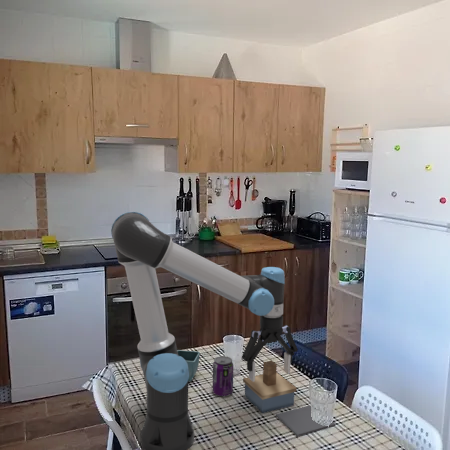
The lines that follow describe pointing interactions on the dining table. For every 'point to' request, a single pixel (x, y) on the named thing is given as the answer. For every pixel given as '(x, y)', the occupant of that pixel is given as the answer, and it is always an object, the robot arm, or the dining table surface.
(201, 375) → the dining table surface
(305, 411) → the mat
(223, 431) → the dining table surface
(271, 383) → the lid
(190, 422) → the robot arm
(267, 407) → the dish
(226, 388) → the beverage can
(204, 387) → the dining table surface
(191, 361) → the flower pot
